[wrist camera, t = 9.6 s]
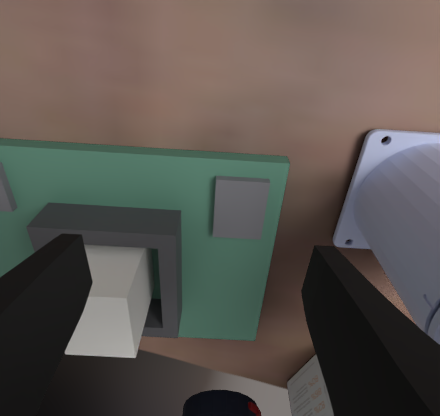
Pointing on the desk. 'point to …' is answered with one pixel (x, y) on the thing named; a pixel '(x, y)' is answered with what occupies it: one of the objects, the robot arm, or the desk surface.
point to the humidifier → (220, 404)
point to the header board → (154, 222)
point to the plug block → (114, 302)
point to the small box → (309, 391)
